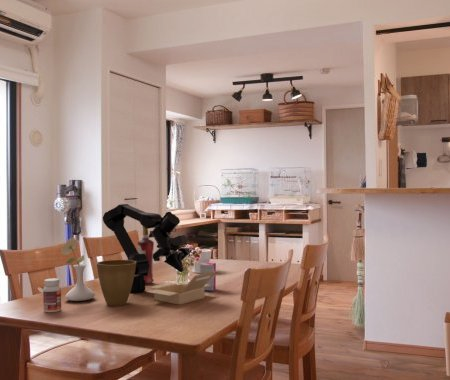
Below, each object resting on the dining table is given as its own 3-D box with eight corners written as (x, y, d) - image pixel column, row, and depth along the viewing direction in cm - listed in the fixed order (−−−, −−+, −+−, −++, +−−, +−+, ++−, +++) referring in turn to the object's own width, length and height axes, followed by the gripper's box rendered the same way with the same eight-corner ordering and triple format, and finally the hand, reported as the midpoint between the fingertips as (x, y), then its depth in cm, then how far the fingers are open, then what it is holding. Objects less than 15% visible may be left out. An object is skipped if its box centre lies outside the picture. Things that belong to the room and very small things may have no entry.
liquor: (135, 283, 237) (134, 222, 236) (149, 281, 241) (148, 221, 241) (142, 285, 231) (141, 223, 231) (157, 283, 235) (156, 222, 235)
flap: (181, 291, 194) (194, 275, 190) (202, 285, 203) (215, 271, 199) (182, 292, 194) (195, 277, 189) (203, 287, 203) (216, 272, 199)
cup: (190, 269, 273) (190, 248, 273) (213, 269, 272) (213, 249, 272) (185, 273, 261) (185, 251, 261) (209, 273, 259) (209, 252, 259)
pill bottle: (60, 312, 184) (60, 280, 184) (42, 313, 183) (42, 281, 183) (62, 308, 190) (61, 277, 190) (44, 309, 189) (44, 278, 189)
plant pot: (125, 309, 187) (124, 265, 187) (89, 307, 191) (88, 264, 191) (143, 300, 201) (143, 259, 201) (109, 298, 205) (109, 258, 205)
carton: (136, 300, 201) (135, 289, 201) (178, 290, 220) (178, 280, 220) (171, 307, 189) (170, 295, 189) (212, 295, 208) (212, 285, 208)
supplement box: (213, 291, 216) (212, 264, 216) (199, 291, 217) (199, 264, 217) (216, 289, 222) (215, 262, 222) (202, 288, 223) (202, 262, 223)
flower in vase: (86, 295, 211) (85, 235, 211) (100, 299, 203) (99, 236, 203) (56, 300, 202) (55, 237, 202) (70, 305, 194) (69, 239, 194)
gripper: (162, 226, 197) (182, 259, 191) (189, 228, 213) (208, 259, 207) (144, 244, 201) (162, 277, 195) (171, 244, 217) (190, 275, 211)
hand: (182, 271), depth 202 cm, fingers closed
